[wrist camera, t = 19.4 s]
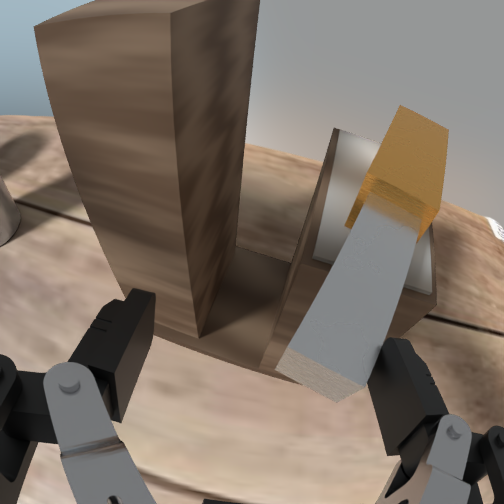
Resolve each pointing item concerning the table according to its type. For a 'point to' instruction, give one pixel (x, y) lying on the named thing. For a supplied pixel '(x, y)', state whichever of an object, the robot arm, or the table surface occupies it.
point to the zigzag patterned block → (196, 174)
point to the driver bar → (371, 261)
